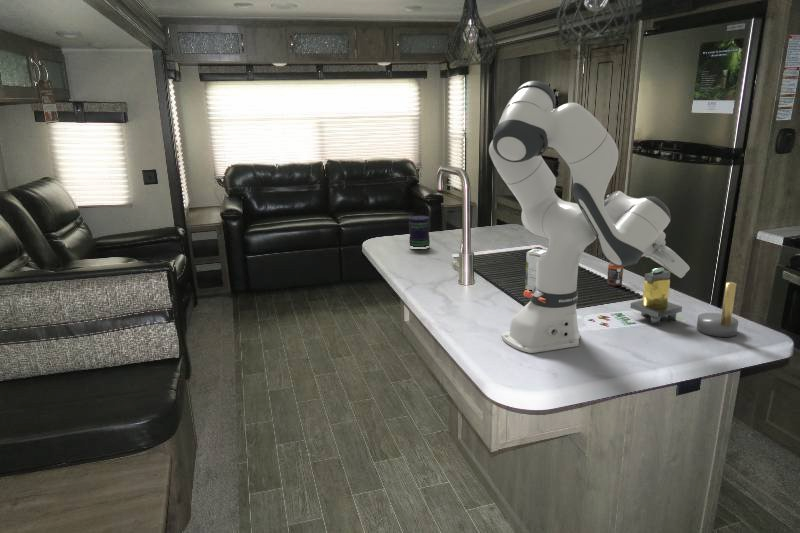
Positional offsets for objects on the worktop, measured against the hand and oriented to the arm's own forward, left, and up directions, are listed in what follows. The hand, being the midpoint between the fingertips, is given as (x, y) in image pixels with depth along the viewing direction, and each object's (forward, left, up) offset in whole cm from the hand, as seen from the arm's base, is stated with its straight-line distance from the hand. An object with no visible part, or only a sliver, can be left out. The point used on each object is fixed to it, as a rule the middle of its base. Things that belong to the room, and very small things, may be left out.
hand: (681, 274), depth 146 cm
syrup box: (-5, +54, -19) cm, 57 cm away
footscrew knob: (+14, -2, -19) cm, 24 cm away
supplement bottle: (+23, +44, -19) cm, 53 cm away
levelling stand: (+7, +13, -19) cm, 24 cm away
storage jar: (-11, +133, -19) cm, 134 cm away
